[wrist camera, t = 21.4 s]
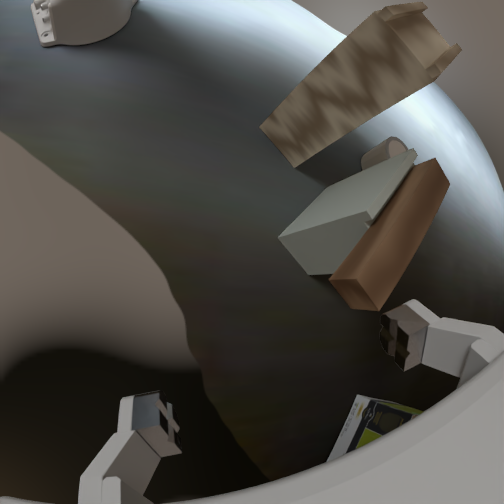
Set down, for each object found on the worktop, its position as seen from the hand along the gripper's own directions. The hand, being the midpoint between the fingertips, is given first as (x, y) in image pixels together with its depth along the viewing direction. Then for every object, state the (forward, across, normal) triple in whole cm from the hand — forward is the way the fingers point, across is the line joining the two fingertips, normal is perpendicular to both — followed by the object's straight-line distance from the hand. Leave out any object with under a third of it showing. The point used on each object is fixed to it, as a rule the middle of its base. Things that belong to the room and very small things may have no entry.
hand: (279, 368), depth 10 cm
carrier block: (+32, -15, +9) cm, 36 cm away
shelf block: (+38, -18, -6) cm, 43 cm away
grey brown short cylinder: (+38, -30, +4) cm, 49 cm away
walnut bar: (+15, -16, +4) cm, 22 cm away
